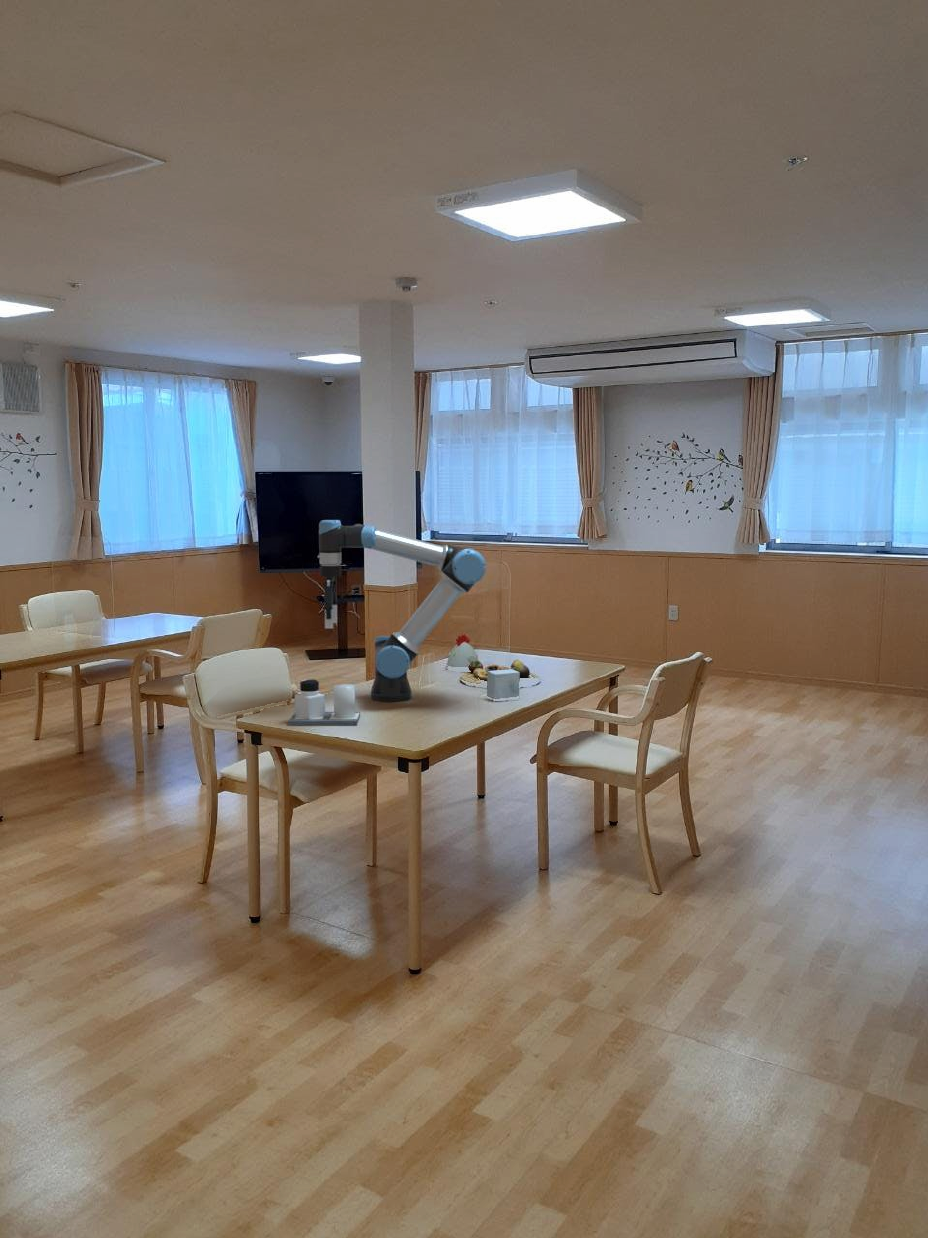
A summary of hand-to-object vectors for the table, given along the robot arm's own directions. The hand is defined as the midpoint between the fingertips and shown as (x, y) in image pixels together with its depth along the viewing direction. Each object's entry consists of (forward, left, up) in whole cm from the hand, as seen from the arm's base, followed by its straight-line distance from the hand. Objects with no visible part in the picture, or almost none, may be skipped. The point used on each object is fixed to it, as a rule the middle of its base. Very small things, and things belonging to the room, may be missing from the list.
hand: (331, 625), depth 354 cm
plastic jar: (-6, +22, -27) cm, 35 cm away
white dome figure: (-48, -74, -29) cm, 93 cm away
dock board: (0, +22, -29) cm, 36 cm away
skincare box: (-61, -12, -29) cm, 69 cm away
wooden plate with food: (-62, -47, -29) cm, 83 cm away
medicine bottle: (+5, +22, -27) cm, 35 cm away
